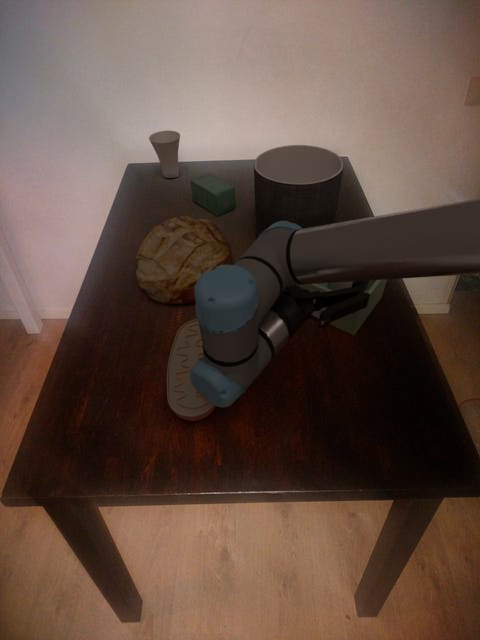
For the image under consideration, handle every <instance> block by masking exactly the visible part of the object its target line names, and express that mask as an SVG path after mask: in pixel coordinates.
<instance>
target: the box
mask: <svg viewBox="0 0 480 640" xmlns="http://www.w3.org/2000/svg"><path fill="white" fill-rule="evenodd" d="M190 188H191V194H192V195H191V197H192V201H193V202H195V204H197V205H199V206H201V207H202V208H204V209H205V210H207V211H208V212H210V213H212V214H213V215H214V216H216V217H220V216H222V215H224V214H226V213H229V212H230V211H232V210H234V209H235V208H236V189H235V187H234V186H233V185H231V184H229V183H227V182H225V181H223V180H222V179H220V178H219V177H216V176H215V175H213V174H211V173H209V172H208V173H205V174H203V175H199V176H197V177H193V178H192V179H190ZM195 200H196V201H195ZM198 202H199V203H198ZM201 204H202V205H201Z"/></svg>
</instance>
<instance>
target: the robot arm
mask: <svg viewBox="0 0 480 640" xmlns="http://www.w3.org/2000/svg"><path fill="white" fill-rule="evenodd" d="M467 275H469V276H470V275H480V197H479V198H473V199H468V200H462V201H456V202H450V203H445V204H438V205H433V206H426V207H421V208H416V209H409V210H403V211H398V212H392V213H387V214H381V215H380V214H379V215H375V216H369V217H363V218H357V219H352V220H345V221H340V222H335V223H334V224H328V225H322V226H316V227H311V228H305V229H302V228H301V227H300V226H299V225H297V224H295V223H290V222H288V221H279V222H276V223H274V224H272V225H271V226H270V227H269V228H268V229H266V230H265V231H263V233H262V234H260V235H259V236H258V237H257V236H256V239H254V241H253V243H252V244H251V245H250V246H249V247H248V248H247V250H246V251H245V252H244V253H243V254H242V255H241V256H240V258H239V259H238V260H237V261H236V262H235V263H234V264H232V265H220V266H216V267H215V269H213V270H207V271H206V272H204V273H203V274H202V275H201V276H200V277H199V279H198V280H197V282H196V285H195V290H194V293H195V302H194V303H195V304H194V308H195V310H194V312H195V313H194V314H195V317H196V319H197V320H198V323H199V328H200V333H201V339H202V344H203V354H204V356H203V357H202V358H201V359H200V360H198V361H197V363H196V364H195V365H194V367H193V368H192V369H191V372H190V380H191V382H192V384H193V386H194V388H195V389H196V390H197V392H198V393H199V394H200V395H201V396H202V397H203V398H204V399H206V400H207V401H208V402H210V403H211V404H213V405H215V406H216V407H218V408H229V407H230V406H232V405H233V404H234V403H235V401H237V400H238V399H239V398H240V397H241V396H242V395H243V394H245V393H246V391H247V389H248V388H249V387H250V386H251V385H252V383H253V382H254V381H255V379H256V378H258V376H259V375H260V374H261V373H262V372H263V370H264V369H265V368H266V367H267V366H268V365H269V364H270V362H271V361H272V360H273V359H274V358H275V357H276V356H277V354H278V353H279V352H280V351H281V350H282V349H283V348H284V347H285V345H286V344H287V343H288V342H289V340H290V339H292V338H293V336H294V335H296V333H297V332H298V331H299V329H301V328H302V326H303V325H304V324H305V322H306V321H308V320H311V319H312V320H313V321H315V322H317V323H318V324H317V325H318V328H320V329H325V328H327V327H328V326H330V323H331V322H332V321H335V320H337V319H340V318H342V317H344V316H347V315H349V314H352V313H354V312H357V311H359V310H361V309H364V308H366V307H367V305H368V301H369V298H370V294H369V293H367V292H365V290H366V289H367V288H368V284H369V280H386V279H387V280H401V279H402V280H403V279H418V278H419V279H420V278H431V277H448V276H449V277H451V276H467ZM353 281H354V282H353ZM336 282H353V283H352V287H349V288H344V289H338V290H333V291H327V292H320V291H315V292H310V291H309V290H307V289H303V288H300V287H299V286H297V285H302V284H319V283H336ZM364 292H365V293H364ZM313 299H315V304H314V302H313ZM325 307H328V308H326V309H324V308H325ZM319 310H321V311H319Z"/></svg>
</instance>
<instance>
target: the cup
mask: <svg viewBox="0 0 480 640" xmlns="http://www.w3.org/2000/svg"><path fill="white" fill-rule="evenodd" d="M180 139H181V134H180V132H178V131H175V130H161V131H160V130H159V131H157V132H154V133H152V134H151V135H150V136H149V137H148V140H149V142H150V144H151V146H152V148H153V150H154V151H155V154H156V155H157V158H158V161H159V163H160V168H161V173H162V172H163V173H165V174H173V173H176V172H178V171H179V170H180V167H179V147H180Z"/></svg>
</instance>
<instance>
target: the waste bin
mask: <svg viewBox="0 0 480 640" xmlns="http://www.w3.org/2000/svg"><path fill="white" fill-rule="evenodd" d="M387 281H388V279H386V280H369V284H368V288H367V289H366V290H365V292H367V293H369V294H370V298H369V301H368V305H367V307H366V308H364V309H361V310H359V311H357V312H354V313H352V314H349V315H347V316H344V317H342V318H340V319H337V320H335V321H332V322H331V323H330V324H329V326H330V325H331V326H333V327H335V328H336V329H339V330H340V331H343V332H345V333H347V334H349V335H352V336H355V335H356V334H357V332H358V331H359V330H360V328H361V327H362V325H363V324H364V322H365V321H366V320H367V318H368V317H369V315H370V314H371V313H372V311H373V310H374V309H375V307H376V306H377V304H378V303H379V302H380V301H381V299H382V298H383V295H384V291H385V288H386V285H387ZM297 286H299V287H300V288H303V289H307V290H309V291H310V292H315V291H320V292H327V291H333V290H330V289H328V288H327V286H328V283H319V284H302V285H297ZM365 292H364V293H365ZM313 302H314V304H315V299H313ZM326 308H328V307H325V308H324V309H326ZM319 311H321V310H319Z"/></svg>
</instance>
